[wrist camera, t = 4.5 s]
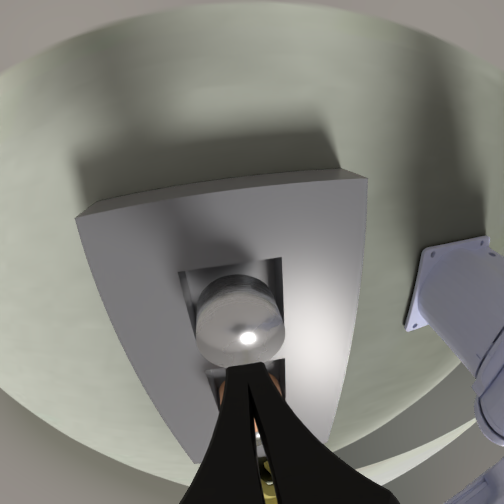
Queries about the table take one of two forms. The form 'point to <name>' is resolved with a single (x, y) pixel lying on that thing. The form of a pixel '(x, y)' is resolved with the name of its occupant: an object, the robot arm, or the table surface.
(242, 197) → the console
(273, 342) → the plunger
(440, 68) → the table surface
